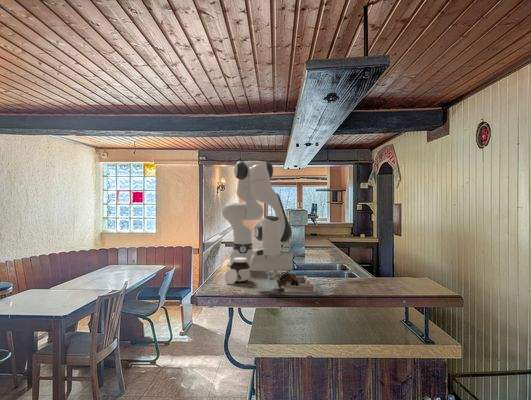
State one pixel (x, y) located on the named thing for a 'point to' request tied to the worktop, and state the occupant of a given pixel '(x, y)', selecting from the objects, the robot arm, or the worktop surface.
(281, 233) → the robot arm
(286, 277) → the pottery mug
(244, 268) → the spread jar
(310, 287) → the wooden u-shaped frame
